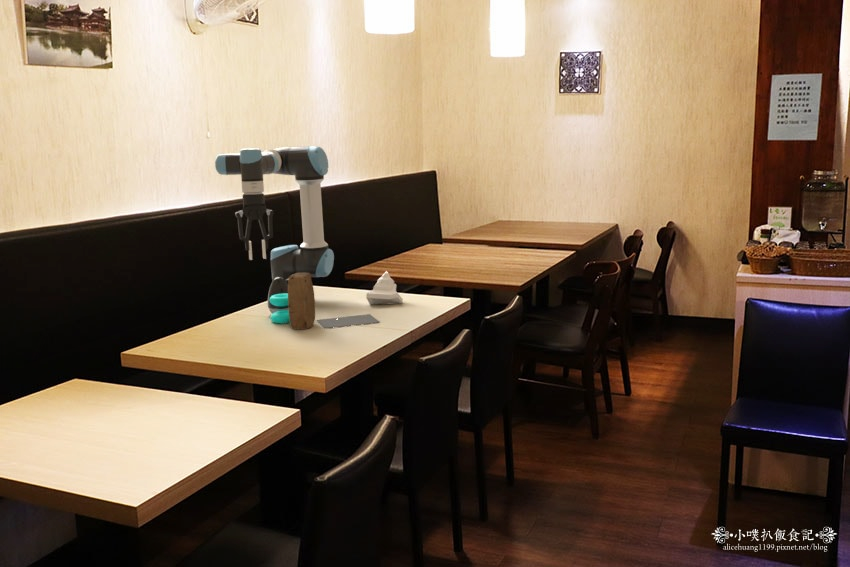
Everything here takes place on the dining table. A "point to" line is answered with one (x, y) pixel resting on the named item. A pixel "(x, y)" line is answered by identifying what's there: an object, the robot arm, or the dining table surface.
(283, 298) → the donuts
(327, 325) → the mat
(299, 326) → the block
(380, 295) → the soft serve ice cream
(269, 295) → the dark grey tapered piece
